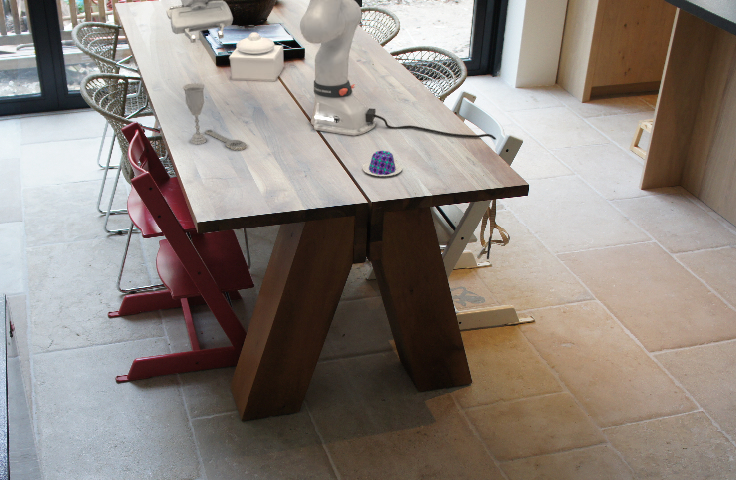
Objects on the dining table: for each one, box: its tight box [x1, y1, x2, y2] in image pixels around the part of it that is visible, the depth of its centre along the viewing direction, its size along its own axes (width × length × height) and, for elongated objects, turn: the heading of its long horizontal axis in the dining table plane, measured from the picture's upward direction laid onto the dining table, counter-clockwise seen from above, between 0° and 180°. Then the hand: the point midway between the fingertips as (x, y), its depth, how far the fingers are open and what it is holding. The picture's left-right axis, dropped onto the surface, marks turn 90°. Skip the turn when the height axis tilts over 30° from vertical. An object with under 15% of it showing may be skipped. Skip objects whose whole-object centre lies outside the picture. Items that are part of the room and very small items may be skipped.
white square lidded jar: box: [228, 31, 285, 82], centre depth 331 cm, size 18×18×16 cm
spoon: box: [205, 129, 247, 151], centre depth 278 cm, size 21×5×1 cm, turn 39°
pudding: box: [362, 150, 403, 177], centre depth 254 cm, size 12×12×5 cm
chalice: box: [182, 82, 207, 145], centre depth 273 cm, size 7×7×18 cm
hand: (207, 39), depth 274 cm, fingers open, 8 cm apart
